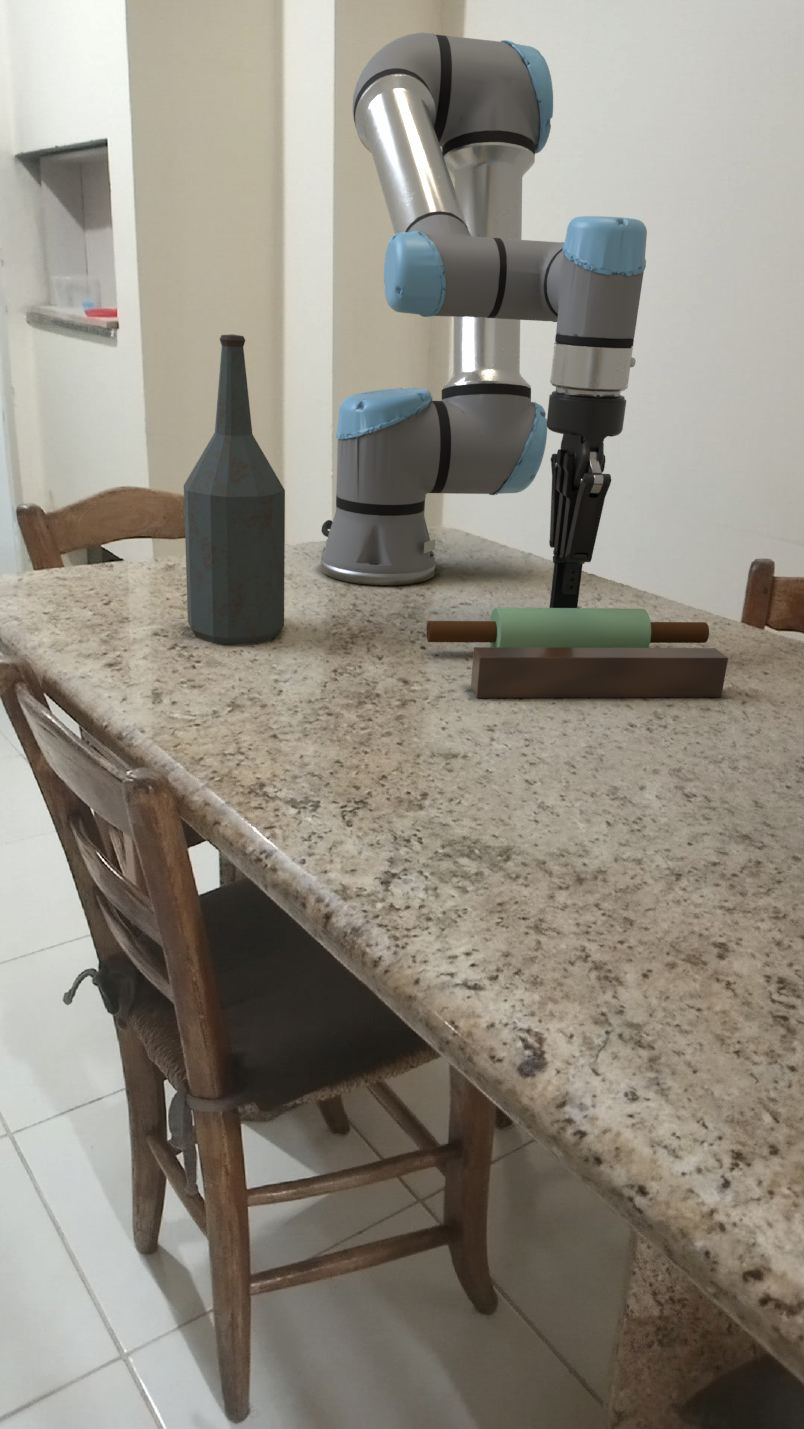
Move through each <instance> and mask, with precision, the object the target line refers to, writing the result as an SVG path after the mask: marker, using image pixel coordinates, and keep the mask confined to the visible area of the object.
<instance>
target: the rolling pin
mask: <svg viewBox="0 0 804 1429" xmlns="http://www.w3.org/2000/svg"><path fill="white" fill-rule="evenodd" d="M425 633H426V634H425V635H426V641H427V643H489V647H526V648H650V644H673V643H674V644H705V643H707V642H708V641H709V637H710V628H709V624H708V623H707V622H706V621H699V622H698V621H651V619H650V615H649V612H648V611H647V610H646V609H645V608H621V607H619V608H616V607H615V608H611V607H610V608H609V607H606V608H605V607H604V608H603V607H602V608H601V607H591V608H590V607H577V608H549V607H494V608H493V609H492V611H491V614H490V619H489V620H428V621H427V622H426V631H425Z"/></svg>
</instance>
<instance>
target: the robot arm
mask: <svg viewBox="0 0 804 1429" xmlns="http://www.w3.org/2000/svg"><path fill="white" fill-rule="evenodd" d="M553 114H554V89H553V81H552V75H551V71H550V68H549V65H548V62H547V60H546V59H545V57H544V56H543V55H542V54H541V51H539V49H536V48H535V47H533V46H530V45H525V44H520V43H515V42H513V41H512V40H506V39H505V40H500V41H499V40H498V41H497V40H490V39H489V40H488V39H480V38H470V37H462V36H461V37H460V36H453V35H452V36H451V35H444V34H435V33H431V32H430V33H429V32H416V33H410V34H406V35H403V36H400V37H397V38H395V39H393V40H391V41H390V42H388V43H387V44H385V45H383V46H382V47H381V48H380V49H379V50H378V51H377V52H376V53H375V54H374V55H373V56H372V57H371V58H370V59H369V61H368V62H367V63H366V64H365V66H364V68H363V69H362V70H361V73H360V75H359V76H358V79H357V81H356V84H355V87H354V91H353V96H352V117H353V122H354V126H355V127H354V128H355V130H356V133H357V137H358V139H359V140H360V142H361V143H362V146H363V147H364V148H365V149H366V150H367V151H368V152H369V153H370V154H371V155H372V157H373V162H374V165H375V169H376V172H377V177H378V180H379V183H380V187H381V191H382V194H383V198H384V202H385V205H386V209H387V212H388V216H389V220H390V222H391V226H392V230H393V235H392V236H391V237H390V239H389V241H388V243H387V245H386V249H385V254H384V262H383V263H384V264H383V283H384V296H385V299H386V302H387V305H388V306H389V308H390V309H392V310H393V311H394V312H397V313H403V314H411V315H419V316H421V317H423V318H429V317H430V318H431V317H451V318H452V317H453V356H452V357H453V362H452V364H453V365H452V367H453V368H452V370H453V371H452V375H451V377H450V378H449V379H448V380H447V381H446V382H445V384H444V385H443V386H442V387H441V400H433V396H432V392H431V390H429V388H428V389H427V388H425V387H423V388H422V387H408V388H407V387H406V388H403V387H398V388H386V389H377V390H370V391H363V392H359V393H355V394H352V395H349V396H348V397H346V398H345V399H344V400H343V401H342V402H341V404H340V406H339V410H338V420H337V429H336V430H337V431H336V433H335V438H336V439H337V448H336V450H337V451H336V452H337V453H336V459H337V460H336V490H335V491H336V495H335V513H334V517H333V519H332V520H331V519H328V520H325V521H324V522H323V523H322V526H321V534H322V535H323V536H324V537H326V538H327V539H326V542H325V546H324V547H323V549H322V552H321V556H320V571H321V572H322V573H323V574H325V575H326V576H328V577H330V578H333V579H335V580H339V581H343V582H347V583H353V584H360V585H368V586H369V585H371V586H401V585H403V586H404V585H412V584H418V583H422V582H425V581H428V580H430V579H432V578H433V577H434V576H435V574H436V557H435V554H434V552H433V551H435V549H436V538H434V539H430V534H429V530H428V525H427V522H426V517H425V511H426V510H425V509H426V498H427V494H452V495H453V494H458V495H460V494H463V495H465V494H466V495H489V496H497V495H499V494H517V493H518V494H519V493H521V492H523V491H525V490H526V489H527V488H529V487H530V485H531V484H532V483H533V482H534V481H535V478H536V476H537V474H538V472H539V471H540V468H541V466H542V462H543V459H544V455H545V451H546V446H547V438H548V430H549V431H550V432H553V433H556V434H561V435H562V439H561V441H560V448H558V449H557V452H556V453H552V454H551V457H550V467H551V468H550V469H551V495H550V520H549V522H550V523H549V528H550V529H549V542H548V544H549V547H550V548H551V549H553V552H552V554H553V556H552V563H553V572H552V573H553V574H552V580H551V590H550V598H549V607H548V608H578V607H579V598H580V588H581V581H582V573H583V565H585V563H591V562H592V559H593V554H594V550H595V545H596V540H597V536H598V532H599V526H600V522H601V519H602V515H603V514H602V513H603V508H604V505H605V500H606V496H607V494H608V491H609V488H610V486H611V483H612V476H611V474H610V473H604V471H605V467H606V455H605V452H604V451H605V450H604V448H605V444H604V441H605V439H606V438H607V437H616V436H619V435H620V434H621V433H622V432H623V429H624V421H625V415H626V406H627V399H625V398H626V397H625V396H624V395H621V392H624V391H626V390H627V389H628V387H629V379H630V372H631V368H634V367H635V366H636V362H637V361H636V359H635V357H633V349H634V342H635V334H636V328H637V323H638V322H637V321H638V316H639V307H640V300H641V293H642V286H643V279H644V273H645V269H646V267H647V260H646V250H647V236H648V229H647V227H646V224H645V223H644V222H643V221H641V220H640V219H636V218H630V217H621V216H619V217H618V216H603V215H602V216H600V215H598V216H597V215H584V216H583V215H582V216H575V217H574V218H572V219H570V221H569V222H568V225H567V228H566V233H565V239H564V241H561V242H560V241H545V240H530V239H529V240H528V239H522V238H523V237H522V231H523V229H522V226H523V177H524V176H525V175H526V173H527V172H528V171H529V170H530V169H531V168H532V167H533V166H534V164H535V162H536V154H539V153H540V152H541V151H542V150H543V149H544V148H545V146H546V144H547V142H548V140H549V136H550V134H551V128H552V125H551V119H552V118H553V116H554V115H553ZM452 179H453V181H452ZM521 321H536V322H551V323H556V329H555V338H554V344H553V354H552V362H551V371H550V373H551V374H550V380H549V383H550V385H551V386H553V387H555V390H553V391H552V392H551V394H549V397H548V408H547V413H546V410H545V409H544V407H543V405H542V404H540V403H538V402H536V401H532V386H531V385H530V383H529V382H528V381H527V380H526V379H525V378H524V377H523V376H522V374H521V372H520V368H521V365H520V364H521ZM546 414H547V416H546ZM546 417H547V418H546Z"/></svg>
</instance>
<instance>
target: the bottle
mask: <svg viewBox="0 0 804 1429" xmlns="http://www.w3.org/2000/svg"><path fill="white" fill-rule="evenodd" d="M219 342H220V345H221V351H220V362H219V374H218V375H219V376H218V377H219V378H218V389H217V400H216V411H215V412H216V413H215V424H214V433H213V435H212V436H211V437H210V440H209V441H208V443H207V445H206V446H205V448H204V450H203V452H202V453H201V455H200V457H199V458H198V460H197V462H196V463H195V465H194V467H193V468H192V470H191V472H190V473H189V475H188V477H187V479H186V480H185V482H184V484H183V508H184V509H183V510H184V538H185V539H184V540H185V541H184V542H185V544H184V545H185V571H186V572H185V574H186V607H187V622H188V624H189V627H190V630H191V631H192V632H193V634H194V637H195V638H196V639H199V640H204V641H207V642H210V643H213V644H217V645H219V644H220V645H226V646H227V645H229V646H231V645H251V644H260V643H263V642H264V643H265V642H268V641H270V640H272V639H273V638H275V637H276V636H278V635H279V634H280V633H281V632H282V630H283V628H284V626H285V565H286V564H285V556H286V555H285V553H286V551H285V550H286V549H285V548H286V545H285V541H286V539H285V538H286V531H285V530H286V490H285V488H284V486H283V484H282V483H281V481H280V479H279V477H278V476H277V474H276V472H275V471H274V468H273V467H272V465H271V463H270V462H269V460H268V459H267V456H266V455H265V454H264V452H263V450H262V448H261V446H260V445H259V442H258V441H257V440H256V438H255V436H254V435H253V426H252V418H251V416H252V415H251V408H250V399H249V397H250V396H249V388H248V378H247V368H246V360H245V358H246V357H245V350H244V346H245V344H246V338H245V336H243V335H239V334H221V335H220V337H219Z"/></svg>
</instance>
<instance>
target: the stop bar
mask: <svg viewBox="0 0 804 1429" xmlns="http://www.w3.org/2000/svg"><path fill="white" fill-rule="evenodd" d="M472 652H473V654H472V665H471V679H470V689H471V690H472V692H473V693H474V696H475V697H476V699H543V698H545V699H547V698H549V699H550V698H551V699H552V698H553V699H557V698H558V699H559V698H560V699H561V698H563V699H564V698H565V699H567V698H570V699H571V698H572V699H573V698H574V699H575V698H581V699H582V698H583V699H585V698H589V699H590V698H592V699H593V698H594V699H595V698H596V699H597V698H722V696H723V690H724V684H725V679H726V672H727V668H728V662H729V657H727V656H726V655H725V654H724V653H722V652H721V651H720V650H718V648H716V647H649V648H526V647H490V646H489V647H488V646H484V647H483V646H479V647H477V646H474V647H473V651H472Z"/></svg>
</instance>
